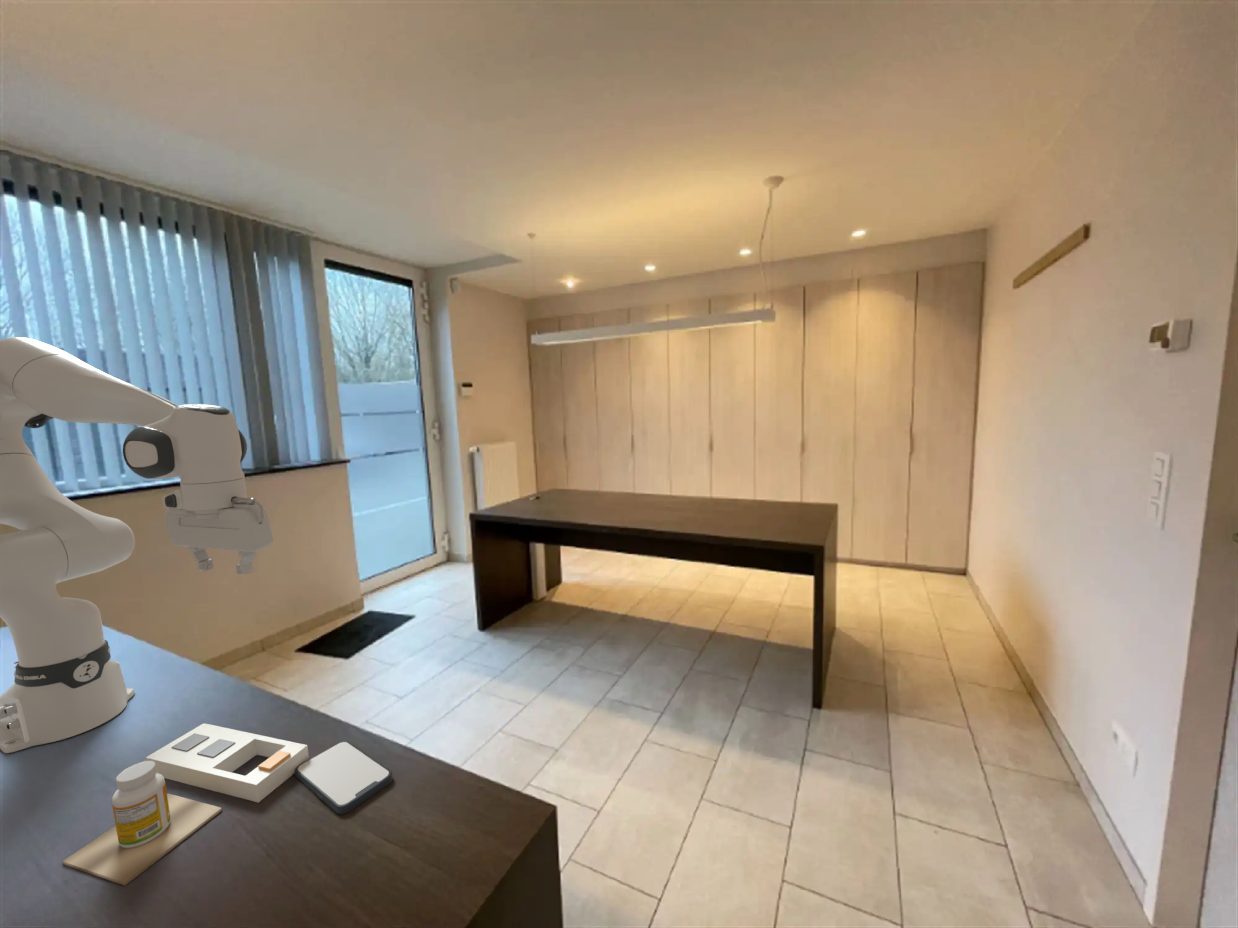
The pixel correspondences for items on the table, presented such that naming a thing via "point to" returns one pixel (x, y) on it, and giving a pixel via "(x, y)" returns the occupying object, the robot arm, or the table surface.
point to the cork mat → (130, 862)
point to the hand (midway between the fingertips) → (225, 571)
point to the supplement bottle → (140, 805)
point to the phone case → (343, 776)
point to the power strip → (229, 761)
